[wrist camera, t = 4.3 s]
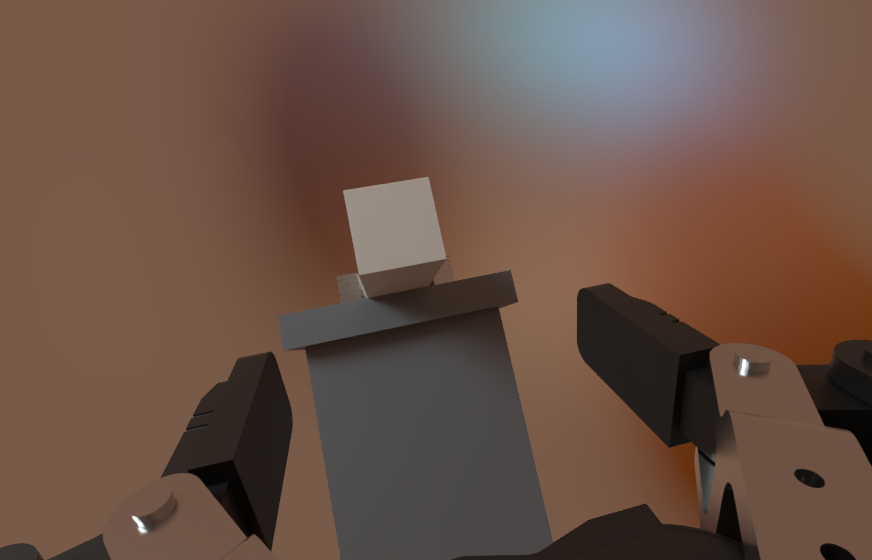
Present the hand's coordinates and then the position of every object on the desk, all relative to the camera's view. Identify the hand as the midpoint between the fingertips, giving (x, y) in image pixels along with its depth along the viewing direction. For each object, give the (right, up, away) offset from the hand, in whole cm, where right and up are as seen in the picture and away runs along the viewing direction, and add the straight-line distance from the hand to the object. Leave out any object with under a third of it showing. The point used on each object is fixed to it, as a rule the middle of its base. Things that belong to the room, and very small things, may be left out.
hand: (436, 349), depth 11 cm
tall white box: (-3, +1, +17) cm, 17 cm away
